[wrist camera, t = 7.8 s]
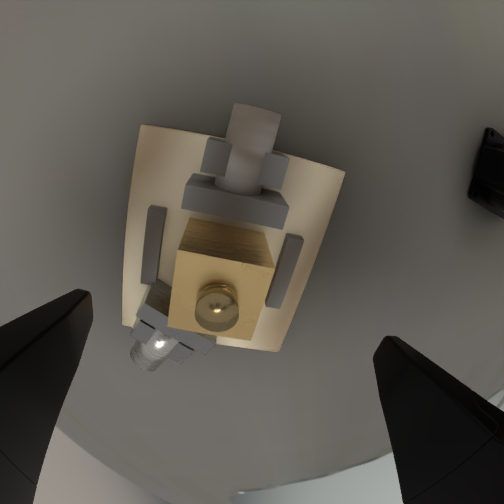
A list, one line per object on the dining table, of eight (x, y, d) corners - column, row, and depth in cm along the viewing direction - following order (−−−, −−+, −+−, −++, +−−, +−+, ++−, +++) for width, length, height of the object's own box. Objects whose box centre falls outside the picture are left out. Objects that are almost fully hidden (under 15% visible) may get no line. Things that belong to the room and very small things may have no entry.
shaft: (155, 276, 18) (144, 302, 16) (217, 315, 20) (216, 344, 17) (120, 327, 20) (109, 354, 17) (176, 358, 22) (171, 387, 19)
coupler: (264, 232, 18) (279, 282, 13) (246, 295, 19) (252, 356, 14) (189, 217, 17) (173, 261, 12) (178, 282, 19) (163, 341, 14)
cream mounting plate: (348, 139, 17) (378, 146, 13) (276, 343, 23) (284, 380, 19) (153, 92, 14) (131, 85, 11) (125, 316, 21) (111, 352, 17)
